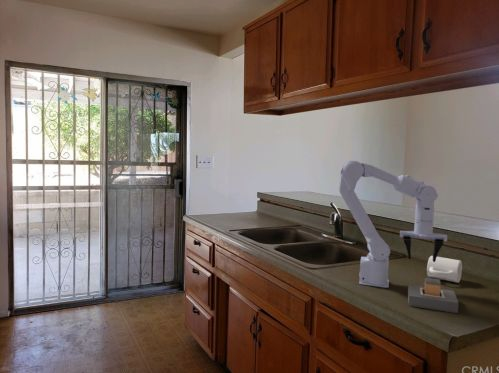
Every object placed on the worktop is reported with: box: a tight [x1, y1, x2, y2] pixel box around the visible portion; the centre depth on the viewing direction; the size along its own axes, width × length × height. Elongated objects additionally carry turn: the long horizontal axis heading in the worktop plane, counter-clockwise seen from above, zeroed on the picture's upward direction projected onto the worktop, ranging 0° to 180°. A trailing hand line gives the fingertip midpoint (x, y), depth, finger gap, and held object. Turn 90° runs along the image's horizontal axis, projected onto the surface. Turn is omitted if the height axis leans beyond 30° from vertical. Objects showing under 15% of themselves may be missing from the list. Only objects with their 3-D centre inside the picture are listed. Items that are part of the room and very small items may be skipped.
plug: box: [423, 277, 442, 296], centre depth 116 cm, size 4×4×7 cm
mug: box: [426, 255, 463, 284], centre depth 138 cm, size 12×10×8 cm
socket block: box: [407, 284, 459, 314], centre depth 116 cm, size 13×11×3 cm
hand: (421, 259), depth 130 cm, fingers open, 7 cm apart
